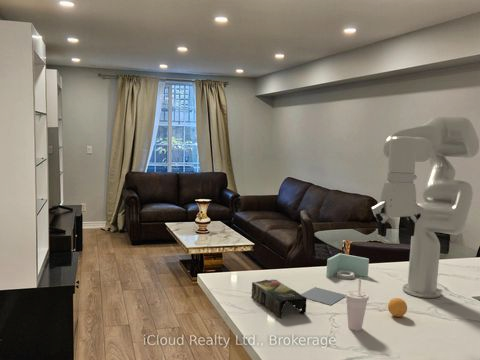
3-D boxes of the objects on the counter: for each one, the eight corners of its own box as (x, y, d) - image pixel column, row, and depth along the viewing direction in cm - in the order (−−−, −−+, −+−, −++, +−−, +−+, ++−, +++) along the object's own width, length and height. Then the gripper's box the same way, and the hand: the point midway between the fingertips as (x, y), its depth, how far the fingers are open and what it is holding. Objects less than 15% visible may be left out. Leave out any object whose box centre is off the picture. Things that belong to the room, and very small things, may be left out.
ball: (391, 311, 145) (392, 294, 145) (409, 315, 142) (410, 298, 141) (384, 316, 141) (385, 298, 140) (402, 321, 138) (404, 303, 137)
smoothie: (367, 333, 128) (370, 284, 126) (343, 331, 129) (346, 281, 128) (365, 324, 134) (369, 277, 133) (343, 322, 135) (346, 274, 134)
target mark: (315, 287, 165) (315, 287, 165) (346, 295, 158) (346, 295, 158) (297, 296, 155) (297, 295, 155) (330, 305, 148) (330, 304, 148)
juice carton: (248, 296, 154) (249, 278, 153) (274, 293, 158) (275, 276, 158) (278, 320, 136) (279, 300, 135) (307, 316, 140) (308, 296, 140)
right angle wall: (326, 278, 178) (327, 259, 177) (338, 271, 188) (339, 253, 187) (356, 285, 171) (357, 265, 170) (367, 277, 181) (369, 258, 180)
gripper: (416, 177, 145) (412, 232, 146) (367, 176, 140) (363, 233, 141) (433, 180, 137) (428, 237, 139) (382, 179, 132) (378, 238, 134)
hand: (395, 235), depth 140 cm, fingers open, 9 cm apart
